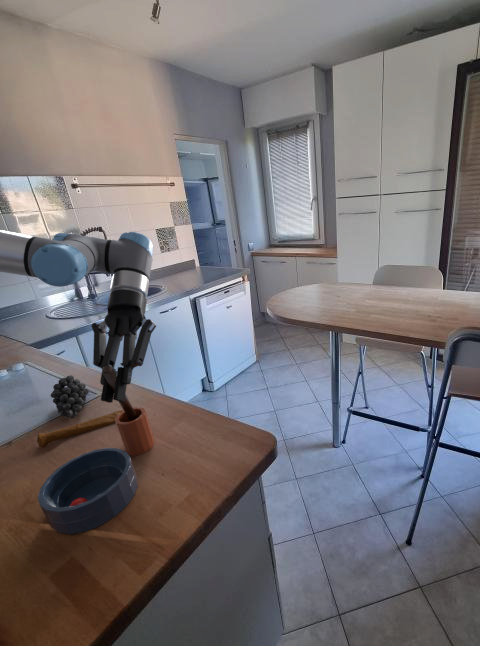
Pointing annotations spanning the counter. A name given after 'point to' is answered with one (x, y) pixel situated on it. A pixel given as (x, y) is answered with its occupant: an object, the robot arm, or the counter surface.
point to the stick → (126, 404)
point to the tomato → (78, 501)
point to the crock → (135, 432)
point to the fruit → (69, 396)
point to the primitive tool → (76, 429)
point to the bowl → (88, 490)
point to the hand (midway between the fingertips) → (112, 400)
